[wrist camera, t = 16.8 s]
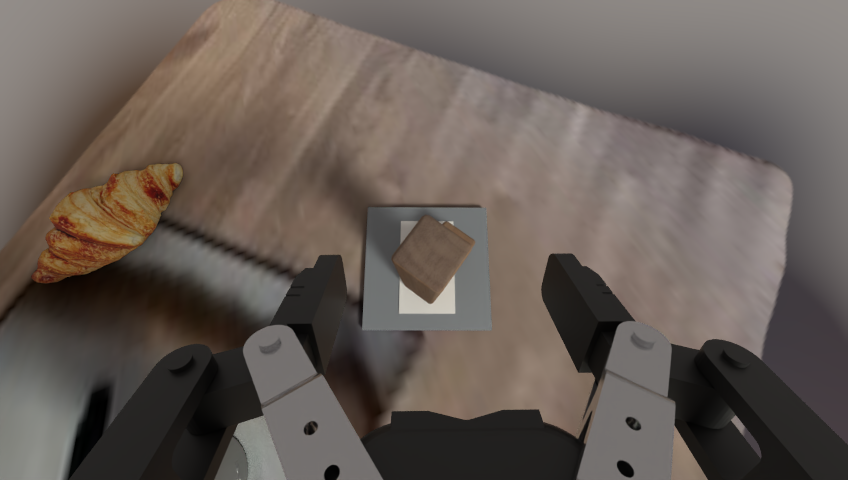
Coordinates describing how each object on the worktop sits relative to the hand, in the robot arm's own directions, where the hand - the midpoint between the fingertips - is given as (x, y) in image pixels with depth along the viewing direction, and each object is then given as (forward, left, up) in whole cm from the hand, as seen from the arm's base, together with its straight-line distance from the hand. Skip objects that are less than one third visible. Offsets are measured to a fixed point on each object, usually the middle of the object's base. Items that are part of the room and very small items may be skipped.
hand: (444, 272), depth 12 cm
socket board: (0, +5, -30) cm, 30 cm away
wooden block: (+1, +5, -28) cm, 29 cm away
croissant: (-41, +10, -30) cm, 52 cm away
